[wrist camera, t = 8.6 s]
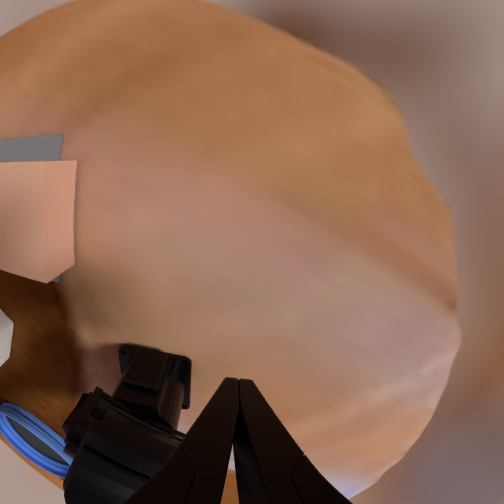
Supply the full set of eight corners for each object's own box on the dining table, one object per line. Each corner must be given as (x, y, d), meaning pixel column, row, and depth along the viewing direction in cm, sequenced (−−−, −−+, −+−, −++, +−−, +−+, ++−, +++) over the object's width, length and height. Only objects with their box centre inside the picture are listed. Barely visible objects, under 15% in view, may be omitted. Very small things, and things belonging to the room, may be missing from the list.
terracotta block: (46, 283, 15) (-27, 260, 14) (74, 264, 19) (0, 247, 18) (44, 161, 13) (-31, 165, 12) (77, 160, 16) (-1, 161, 16)
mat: (60, 280, 19) (57, 282, 19) (-11, 260, 19) (-14, 261, 18) (63, 134, 16) (60, 134, 16) (-12, 142, 15) (-15, 142, 15)
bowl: (68, 471, 31) (63, 483, 28) (-3, 414, 27) (-11, 425, 24) (98, 458, 28) (91, 474, 25) (5, 383, 24) (-6, 397, 21)
